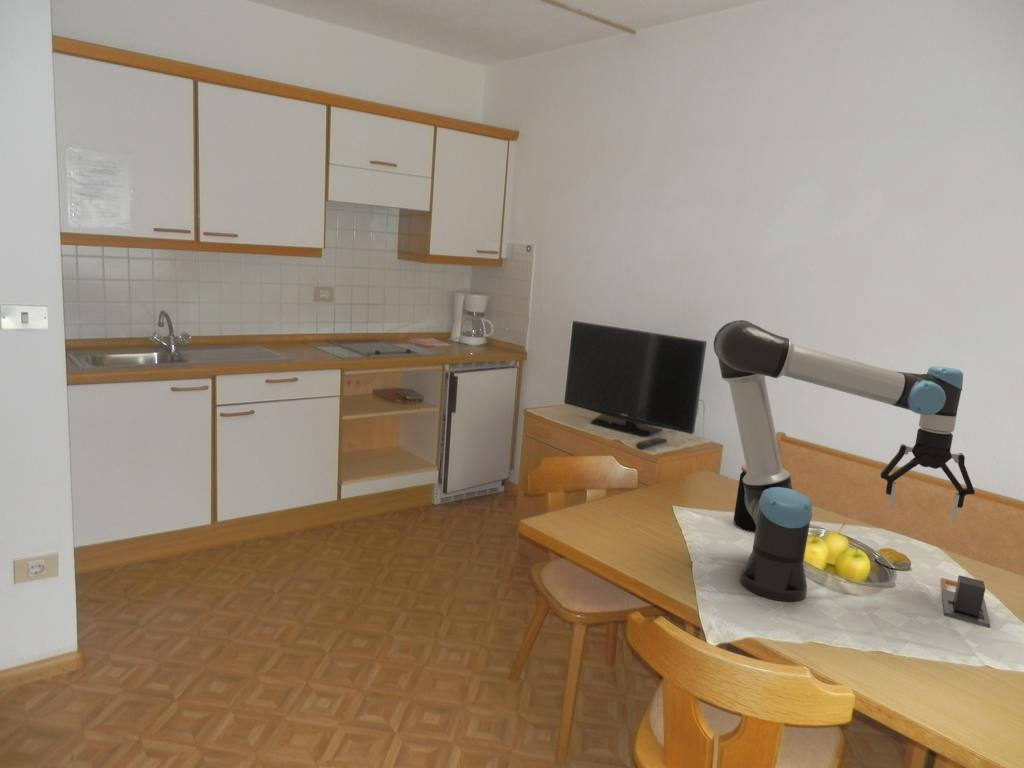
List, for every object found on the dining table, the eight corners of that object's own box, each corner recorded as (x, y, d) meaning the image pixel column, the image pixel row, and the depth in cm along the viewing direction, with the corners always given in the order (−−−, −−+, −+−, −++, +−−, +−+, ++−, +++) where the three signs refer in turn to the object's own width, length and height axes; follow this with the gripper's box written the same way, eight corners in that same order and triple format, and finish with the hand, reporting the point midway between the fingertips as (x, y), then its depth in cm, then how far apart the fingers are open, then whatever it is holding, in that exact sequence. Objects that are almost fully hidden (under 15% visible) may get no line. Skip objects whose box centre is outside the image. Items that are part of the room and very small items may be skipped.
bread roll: (891, 557, 201) (893, 544, 200) (915, 571, 192) (918, 557, 192) (866, 557, 199) (868, 544, 198) (889, 571, 190) (892, 557, 190)
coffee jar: (763, 536, 208) (772, 476, 205) (727, 525, 214) (736, 468, 211) (774, 527, 216) (783, 470, 213) (740, 517, 222) (748, 462, 219)
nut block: (978, 620, 165) (985, 588, 163) (953, 614, 167) (960, 582, 166) (976, 612, 169) (983, 581, 168) (952, 606, 171) (958, 575, 170)
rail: (989, 627, 161) (990, 624, 161) (944, 615, 166) (944, 612, 166) (980, 590, 182) (981, 587, 182) (940, 580, 187) (940, 577, 186)
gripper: (993, 436, 172) (977, 520, 175) (878, 419, 183) (865, 498, 186) (998, 442, 165) (981, 529, 169) (878, 424, 176) (865, 506, 179)
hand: (920, 513), depth 177 cm, fingers open, 13 cm apart
